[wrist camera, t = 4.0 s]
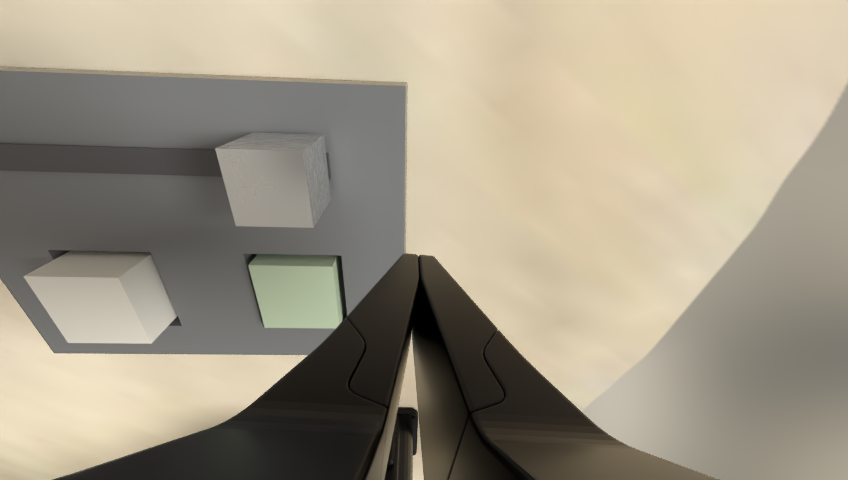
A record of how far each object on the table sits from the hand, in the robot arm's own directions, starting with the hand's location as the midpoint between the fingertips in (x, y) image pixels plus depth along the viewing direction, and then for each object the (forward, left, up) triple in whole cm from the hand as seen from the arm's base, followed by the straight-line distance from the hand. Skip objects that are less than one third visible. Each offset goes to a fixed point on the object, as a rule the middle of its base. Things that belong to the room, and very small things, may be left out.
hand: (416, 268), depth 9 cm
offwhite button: (-7, +17, -8) cm, 20 cm away
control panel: (-4, +12, -11) cm, 16 cm away
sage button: (-7, +7, -10) cm, 13 cm away
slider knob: (+1, +6, -7) cm, 9 cm away
